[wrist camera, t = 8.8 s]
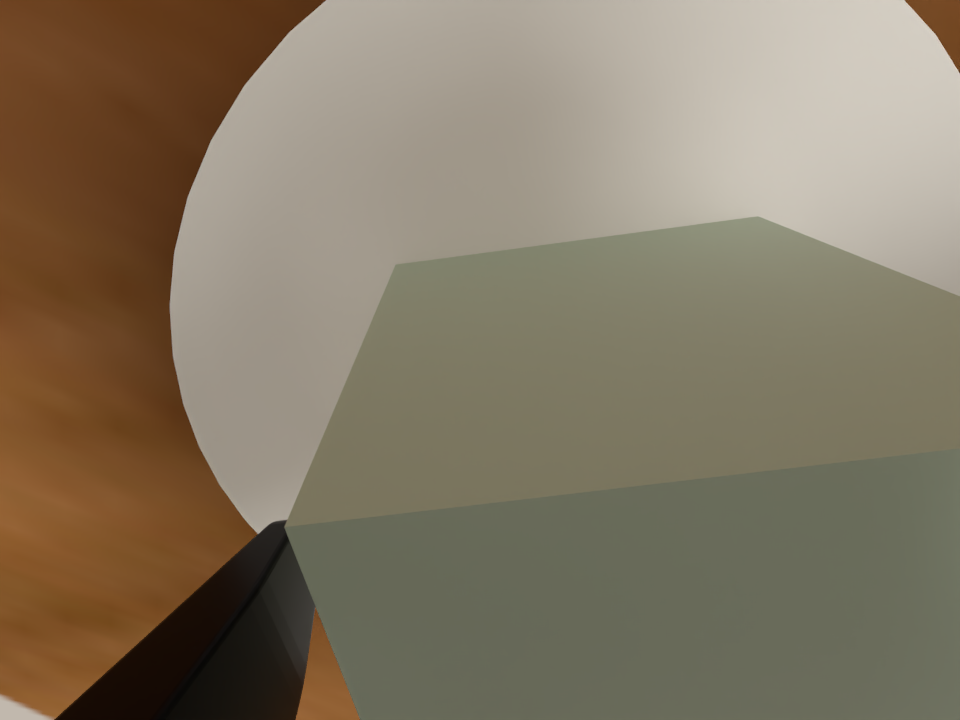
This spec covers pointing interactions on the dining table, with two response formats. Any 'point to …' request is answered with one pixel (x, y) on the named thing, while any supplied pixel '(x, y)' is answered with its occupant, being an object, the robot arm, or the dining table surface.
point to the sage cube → (645, 486)
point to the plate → (529, 173)
